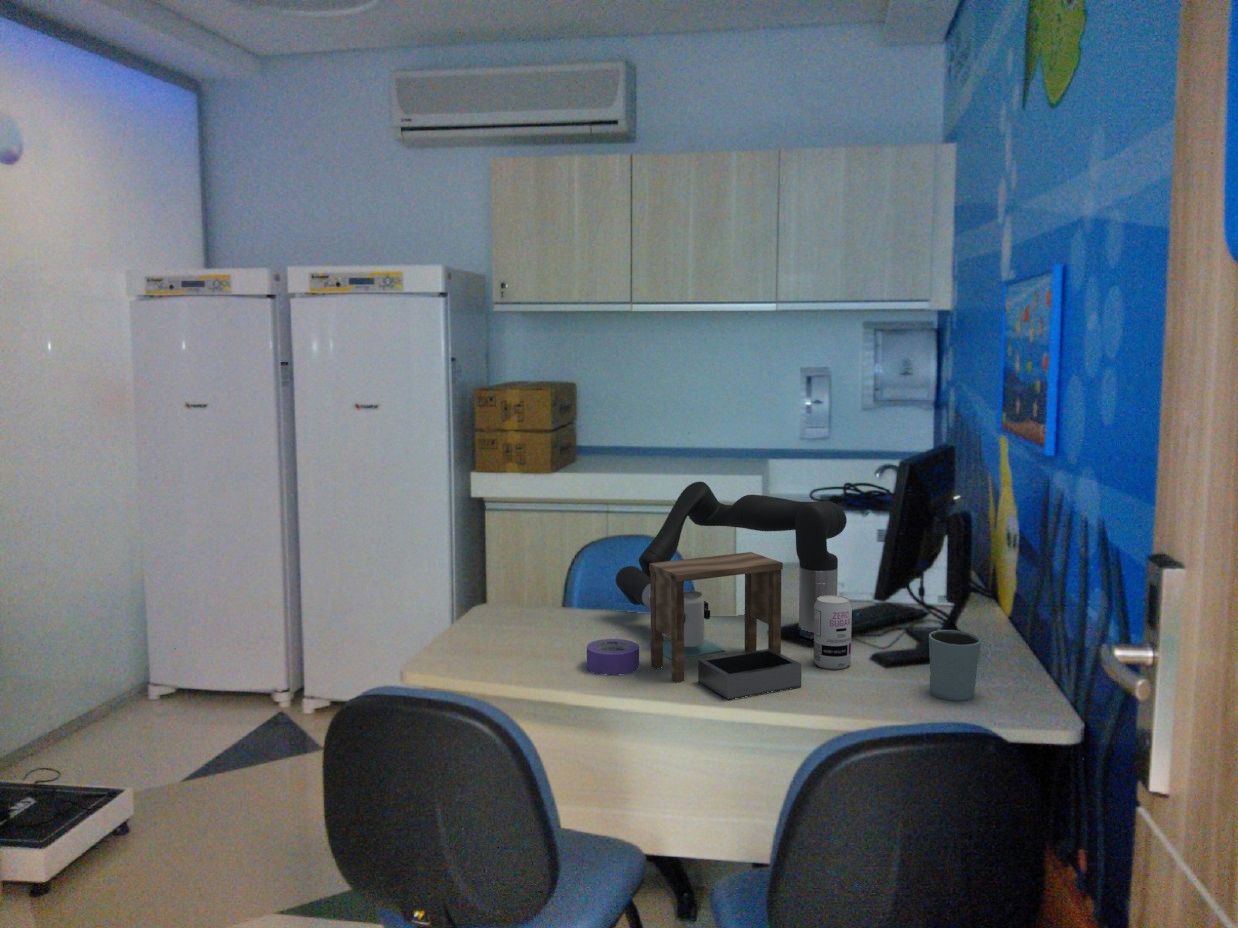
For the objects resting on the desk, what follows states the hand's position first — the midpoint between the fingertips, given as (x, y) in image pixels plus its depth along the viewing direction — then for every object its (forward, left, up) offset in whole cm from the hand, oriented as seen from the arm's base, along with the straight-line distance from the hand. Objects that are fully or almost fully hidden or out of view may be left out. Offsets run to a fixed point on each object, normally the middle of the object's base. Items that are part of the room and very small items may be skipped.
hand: (695, 616), depth 227 cm
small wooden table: (-3, +8, -9) cm, 13 cm away
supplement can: (-29, +10, -9) cm, 32 cm away
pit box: (-8, +22, -9) cm, 25 cm away
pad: (+2, -5, -9) cm, 10 cm away
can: (+1, -2, -7) cm, 8 cm away
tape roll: (+20, +6, -9) cm, 23 cm away
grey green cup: (-48, +31, -9) cm, 58 cm away
